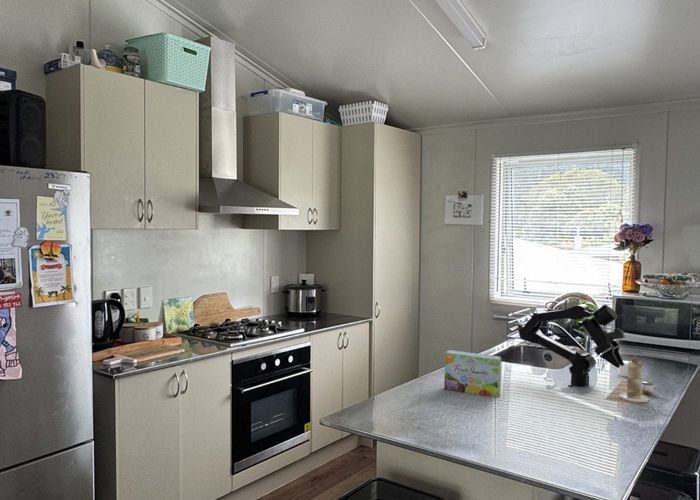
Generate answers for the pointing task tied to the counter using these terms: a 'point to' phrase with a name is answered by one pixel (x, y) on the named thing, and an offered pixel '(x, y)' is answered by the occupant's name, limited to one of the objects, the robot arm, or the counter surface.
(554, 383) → the counter surface
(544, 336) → the robot arm
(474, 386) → the snack box
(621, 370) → the white cup
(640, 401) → the white saucer
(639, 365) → the pepper mill
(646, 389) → the spice tin
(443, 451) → the counter surface
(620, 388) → the serving board
